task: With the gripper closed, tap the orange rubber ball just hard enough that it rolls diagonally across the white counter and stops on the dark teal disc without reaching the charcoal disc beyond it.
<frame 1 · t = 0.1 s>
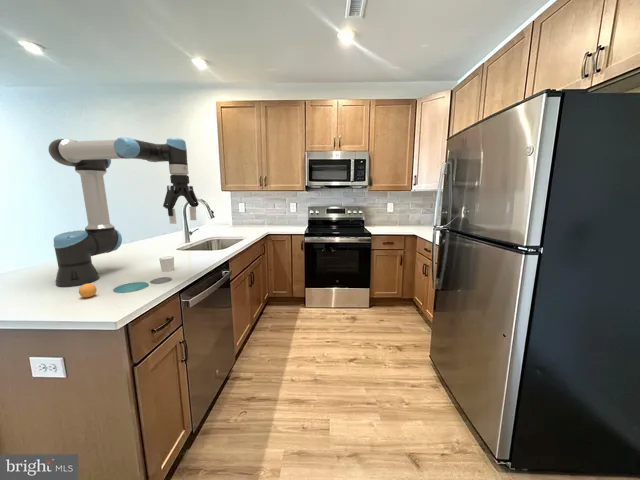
hand: (183, 221, 124), 28 cm above the countertop, tool pointing down, fingers open, 13 cm apart
ball: (87, 290, 107), on the countertop
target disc: (131, 287, 118), on the countertop
shot glass: (168, 270, 143), on the countertop
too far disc: (161, 280, 127), on the countertop
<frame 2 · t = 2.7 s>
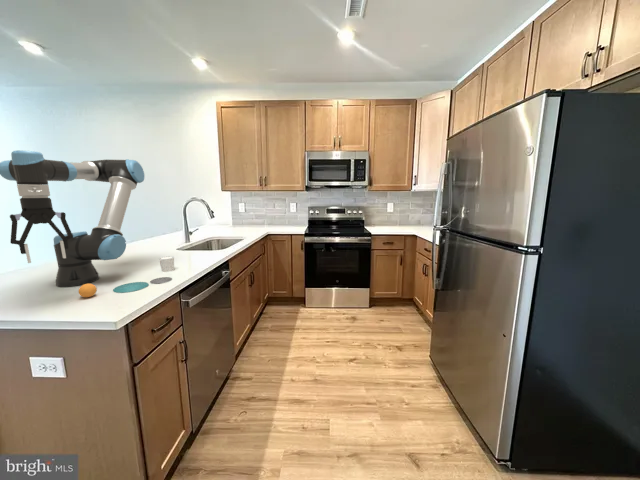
hand: (47, 259, 97), 17 cm above the countertop, tool pointing down, fingers open, 8 cm apart
nothing on the countertop moved.
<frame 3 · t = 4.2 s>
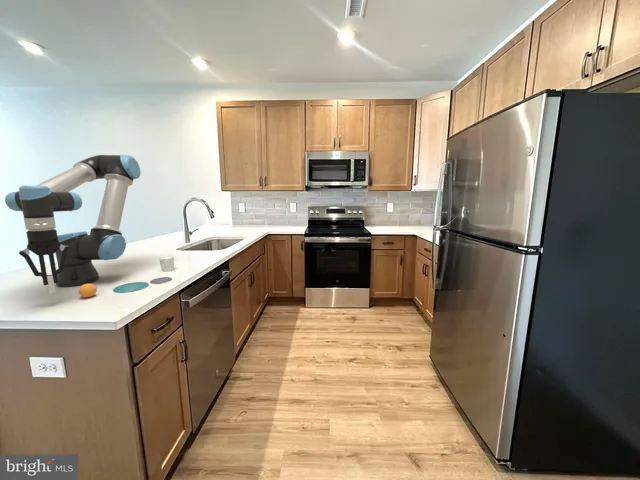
hand: (52, 292, 99), 5 cm above the countertop, tool pointing down, fingers closed
nothing on the countertop moved.
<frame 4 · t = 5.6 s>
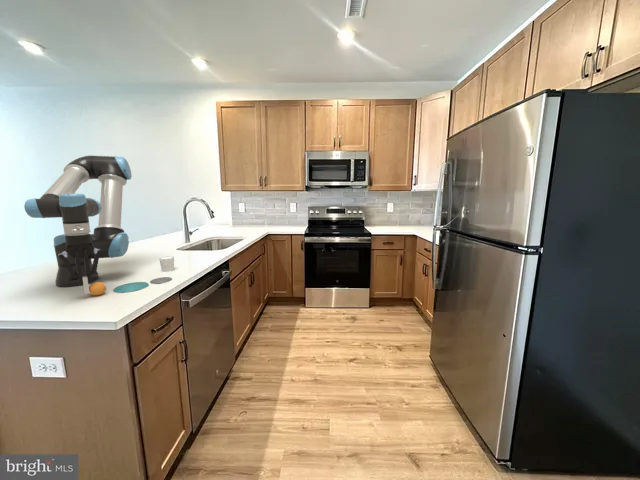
hand: (86, 292, 106), 2 cm above the countertop, tool pointing down, fingers closed
ball: (97, 288, 109), on the countertop, touching gripper
everything else where it was.
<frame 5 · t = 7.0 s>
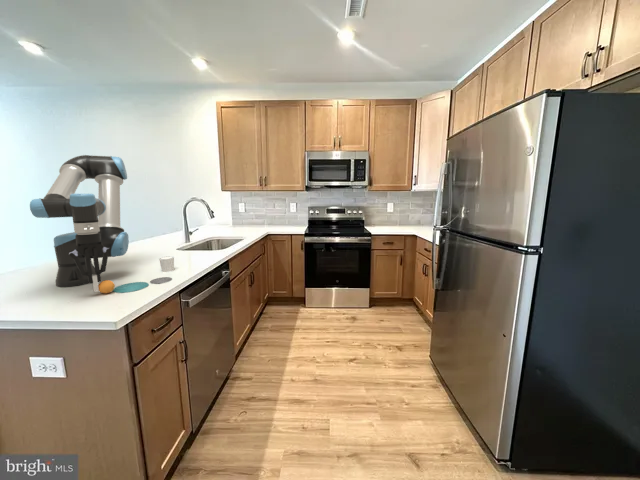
hand: (96, 290, 109), 2 cm above the countertop, tool pointing down, fingers closed
ball: (106, 286, 111), on the countertop, touching gripper
everything else where it was.
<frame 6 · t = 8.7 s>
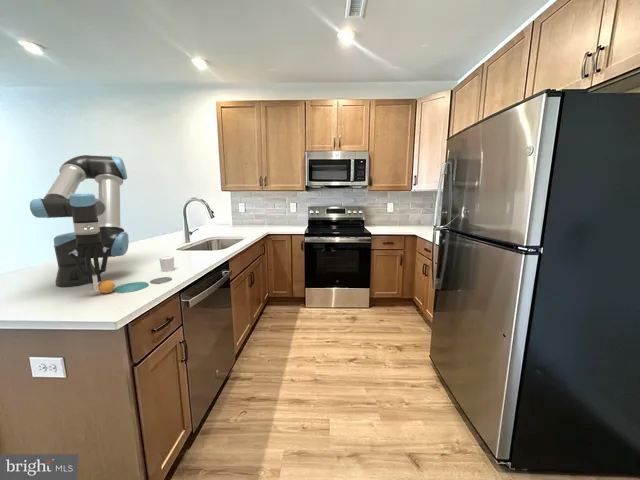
hand: (96, 290, 109), 2 cm above the countertop, tool pointing down, fingers closed
nothing on the countertop moved.
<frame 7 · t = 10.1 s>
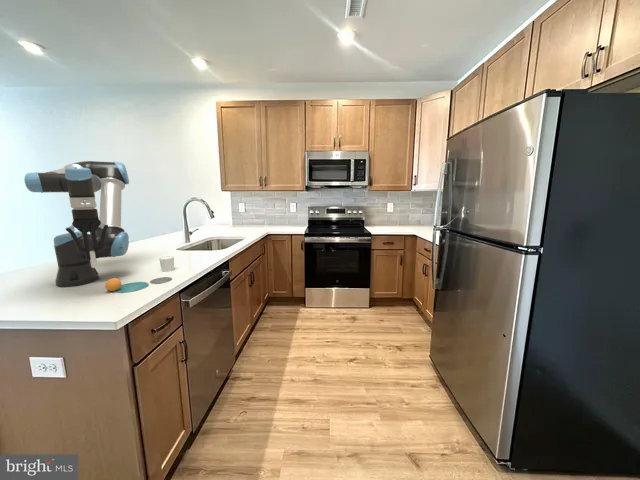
hand: (94, 266, 108), 12 cm above the countertop, tool pointing down, fingers closed
ball: (113, 284, 113), on the countertop
everything else where it was.
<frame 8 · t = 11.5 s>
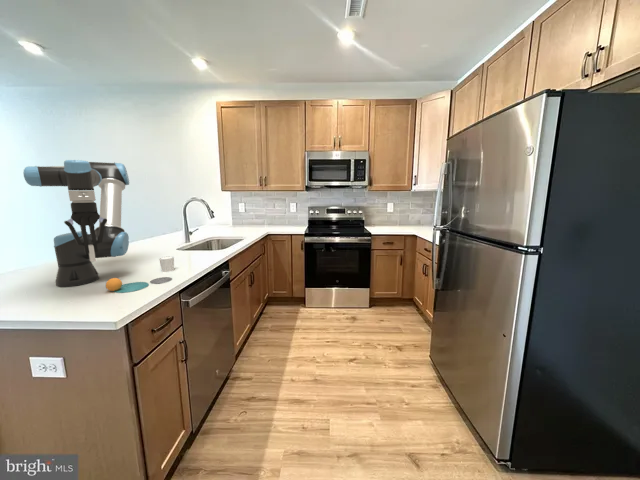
hand: (92, 260, 107), 14 cm above the countertop, tool pointing down, fingers closed
nothing on the countertop moved.
at the end: ball 5.8 cm from the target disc (horizontally); ball at rest at the end (0.0 cm/s); ball moved 8.7 cm from its start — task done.
